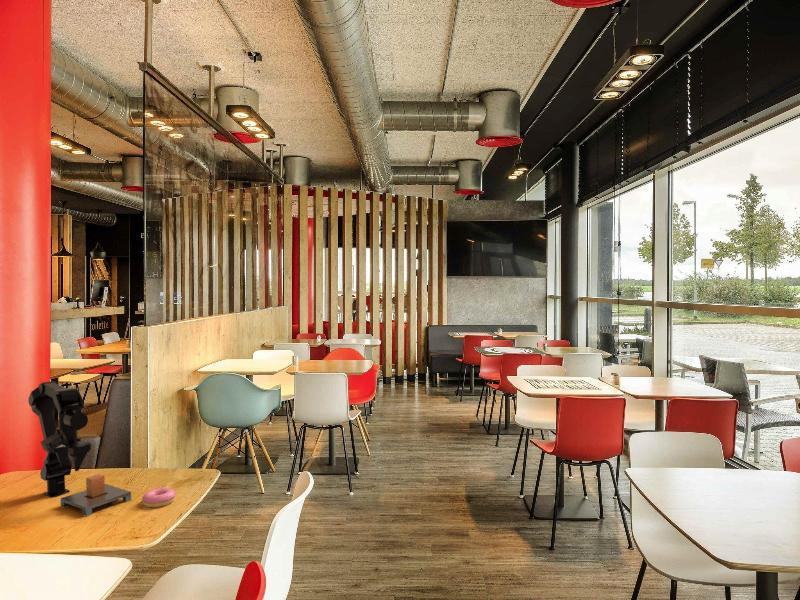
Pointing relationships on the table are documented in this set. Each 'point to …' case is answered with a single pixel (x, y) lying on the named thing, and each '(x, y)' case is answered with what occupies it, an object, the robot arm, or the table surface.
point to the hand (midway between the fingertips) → (69, 468)
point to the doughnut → (158, 497)
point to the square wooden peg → (95, 486)
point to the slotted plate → (95, 499)
